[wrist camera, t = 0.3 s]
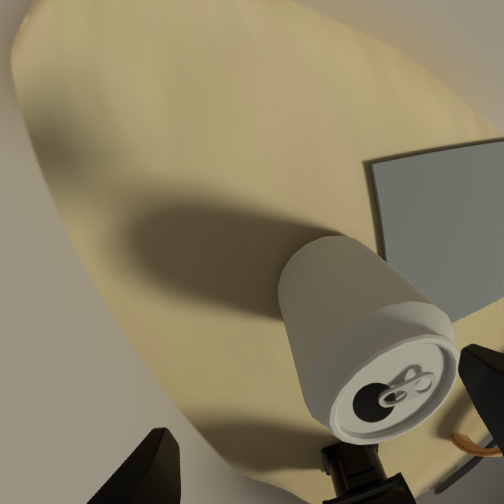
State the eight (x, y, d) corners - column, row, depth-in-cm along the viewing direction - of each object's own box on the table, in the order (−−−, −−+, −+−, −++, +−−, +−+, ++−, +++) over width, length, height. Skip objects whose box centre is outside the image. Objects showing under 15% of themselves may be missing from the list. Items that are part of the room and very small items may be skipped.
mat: (516, 286, 23) (518, 288, 23) (389, 344, 24) (391, 348, 23) (515, 139, 18) (519, 139, 18) (369, 164, 19) (372, 164, 18)
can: (255, 268, 21) (275, 398, 10) (350, 211, 20) (463, 282, 9) (306, 344, 23) (348, 473, 12) (388, 294, 22) (478, 395, 11)
